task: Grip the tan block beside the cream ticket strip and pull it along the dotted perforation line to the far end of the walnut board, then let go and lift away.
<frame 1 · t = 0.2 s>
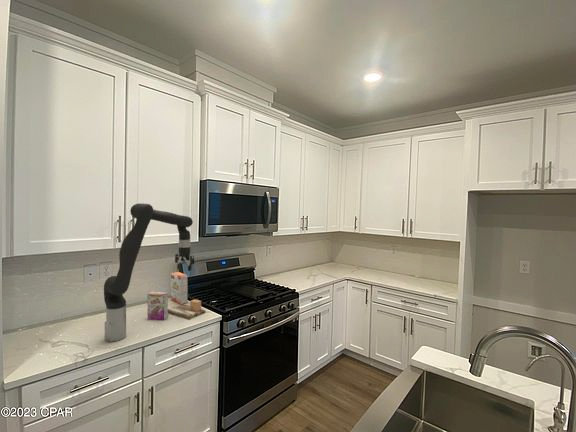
hand: (184, 270, 193), 28 cm above the counter, tool pointing down, fingers open, 8 cm apart
cracker box: (179, 301, 213), on the counter
tan block: (195, 305, 193), point 5 cm above the counter, slide at 0.0 cm
candy bar box: (157, 318, 181), on the counter
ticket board: (185, 312, 192), on the counter
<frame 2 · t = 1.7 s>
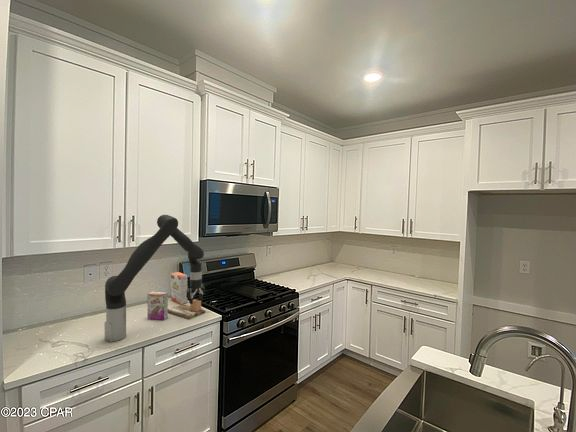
hand: (196, 301, 193), 7 cm above the counter, tool pointing down, fingers open, 8 cm apart
nothing on the counter moved.
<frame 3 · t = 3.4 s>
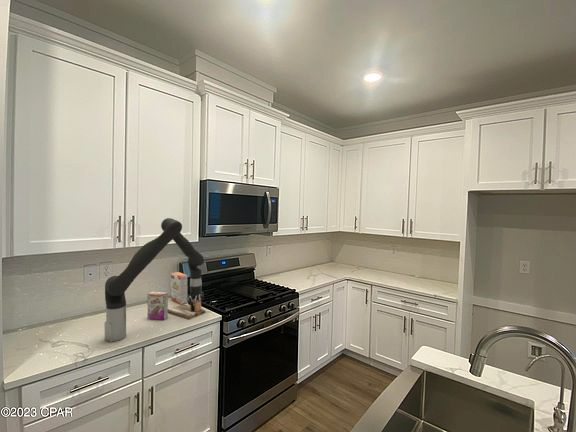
hand: (195, 309, 193), 2 cm above the counter, tool pointing down, fingers closed on tan block, 4 cm apart
tan block: (195, 305, 193), point 5 cm above the counter, slide at 0.0 cm, touching gripper
everything else where it was.
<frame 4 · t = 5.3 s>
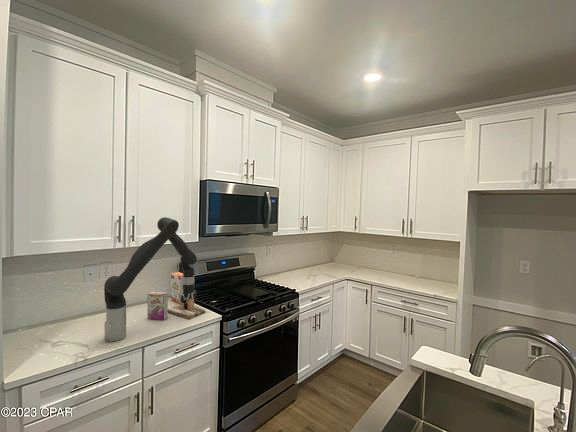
hand: (188, 307, 196), 2 cm above the counter, tool pointing down, fingers closed on tan block, 4 cm apart
tan block: (188, 303, 196), point 5 cm above the counter, slide at 6.9 cm, touching gripper
everything else where it was.
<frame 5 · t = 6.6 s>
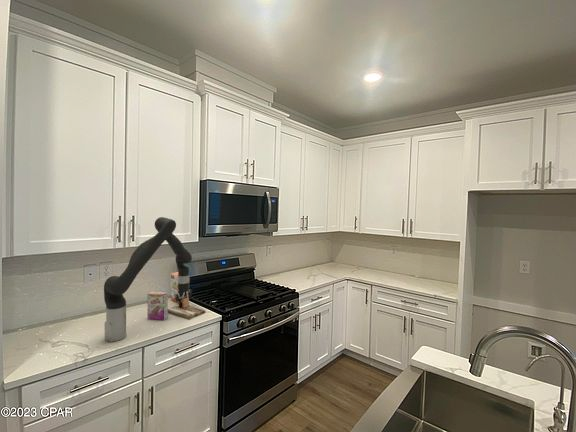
hand: (183, 306, 199), 2 cm above the counter, tool pointing down, fingers closed on tan block, 4 cm apart
tan block: (183, 302, 198), point 5 cm above the counter, slide at 11.8 cm, touching gripper
everything else where it was.
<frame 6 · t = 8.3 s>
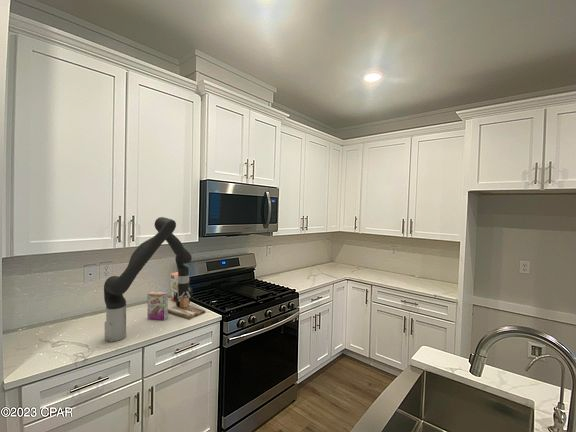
hand: (183, 304, 199), 3 cm above the counter, tool pointing down, fingers open, 8 cm apart
tan block: (183, 302, 198), point 5 cm above the counter, slide at 11.9 cm
everything else where it was.
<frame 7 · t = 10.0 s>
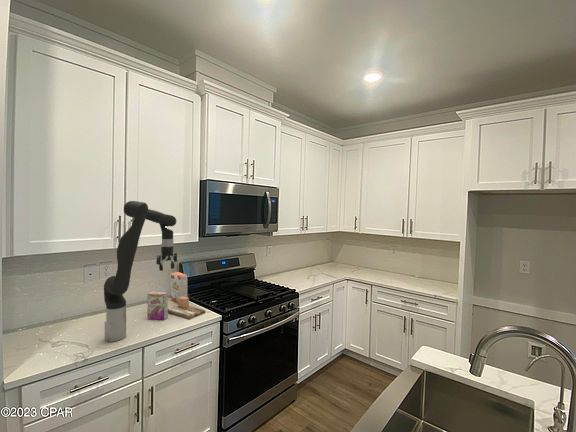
hand: (166, 269, 192), 28 cm above the counter, tool pointing down, fingers open, 8 cm apart
nothing on the counter moved.
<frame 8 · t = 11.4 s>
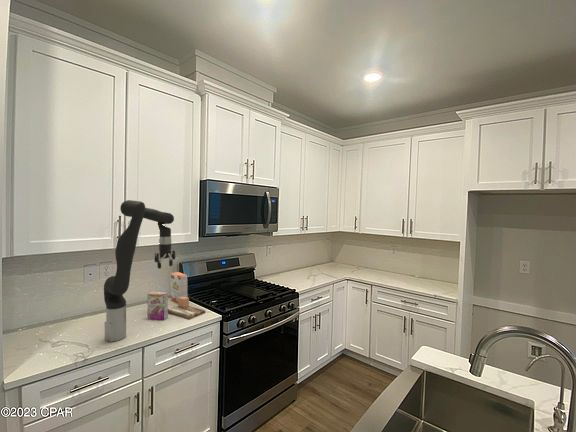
hand: (165, 267, 192), 30 cm above the counter, tool pointing down, fingers open, 8 cm apart
nothing on the counter moved.
at the end: tan block slide at 11.9 cm; the gripper is holding nothing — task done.
